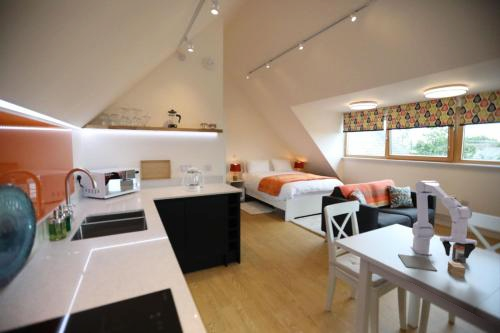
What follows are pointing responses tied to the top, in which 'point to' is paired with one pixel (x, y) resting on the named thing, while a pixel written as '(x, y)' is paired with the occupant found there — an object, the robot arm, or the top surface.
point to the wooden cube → (456, 269)
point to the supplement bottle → (458, 252)
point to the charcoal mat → (417, 262)
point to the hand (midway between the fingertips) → (456, 256)
